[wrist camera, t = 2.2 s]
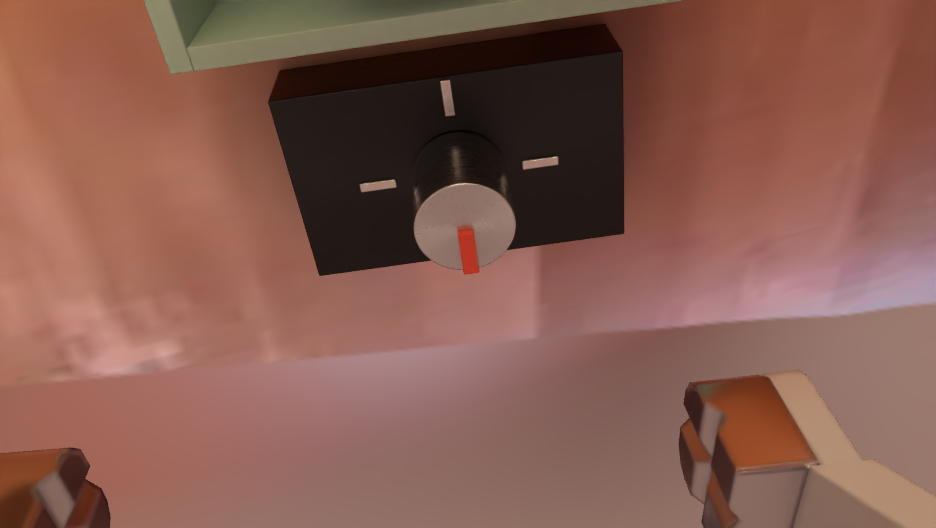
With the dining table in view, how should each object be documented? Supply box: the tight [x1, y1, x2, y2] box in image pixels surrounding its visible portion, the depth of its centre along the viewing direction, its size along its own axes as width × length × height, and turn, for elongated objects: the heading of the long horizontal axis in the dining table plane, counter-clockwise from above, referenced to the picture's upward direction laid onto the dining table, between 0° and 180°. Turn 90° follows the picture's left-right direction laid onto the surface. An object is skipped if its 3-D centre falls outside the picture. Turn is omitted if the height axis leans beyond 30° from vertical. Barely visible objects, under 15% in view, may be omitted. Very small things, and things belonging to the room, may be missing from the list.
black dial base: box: [268, 24, 624, 276], centre depth 32 cm, size 13×8×3 cm, turn 97°
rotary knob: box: [413, 132, 516, 274], centre depth 29 cm, size 4×4×4 cm
